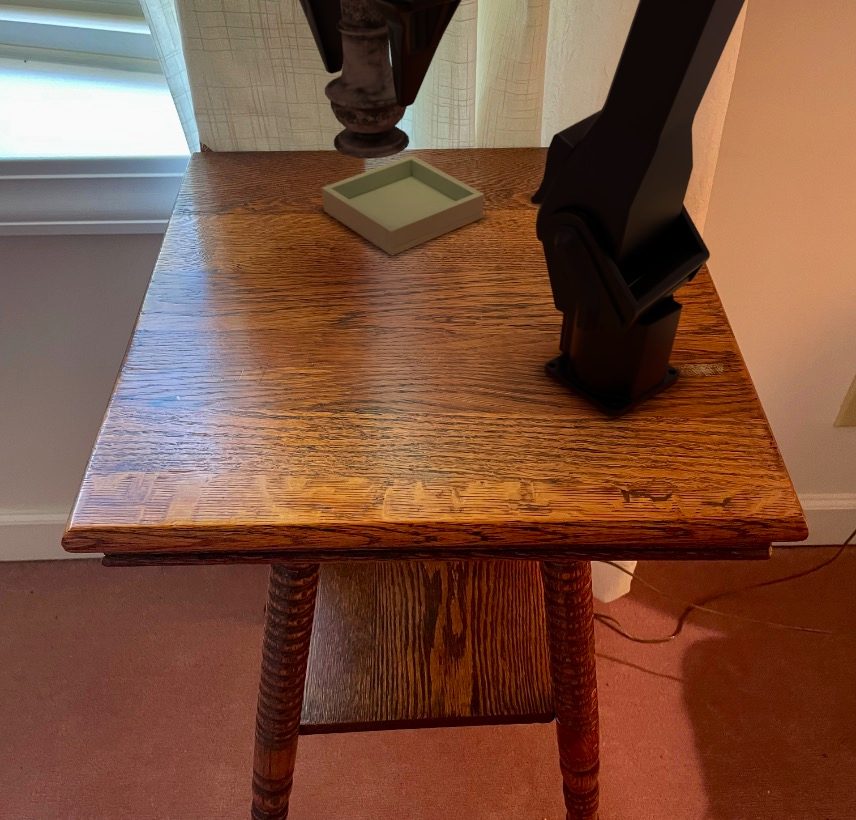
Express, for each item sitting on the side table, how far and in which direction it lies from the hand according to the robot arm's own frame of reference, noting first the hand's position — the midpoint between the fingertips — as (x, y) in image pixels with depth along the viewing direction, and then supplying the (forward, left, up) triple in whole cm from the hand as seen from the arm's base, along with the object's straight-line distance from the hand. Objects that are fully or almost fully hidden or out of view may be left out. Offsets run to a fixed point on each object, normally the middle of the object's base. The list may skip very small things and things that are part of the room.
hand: (368, 88), depth 55 cm
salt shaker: (0, 0, -4) cm, 4 cm away
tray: (+5, -6, -13) cm, 15 cm away
